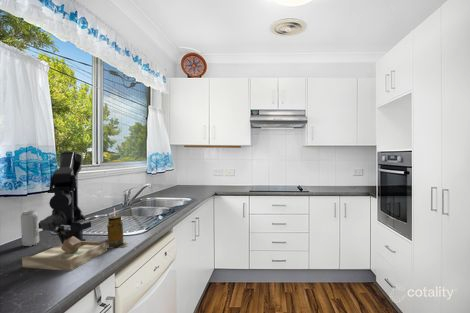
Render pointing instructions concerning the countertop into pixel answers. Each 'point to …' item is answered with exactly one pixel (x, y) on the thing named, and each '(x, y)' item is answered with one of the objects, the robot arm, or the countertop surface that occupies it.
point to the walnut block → (71, 245)
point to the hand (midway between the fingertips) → (65, 246)
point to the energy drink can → (29, 228)
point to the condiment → (115, 232)
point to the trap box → (65, 257)
